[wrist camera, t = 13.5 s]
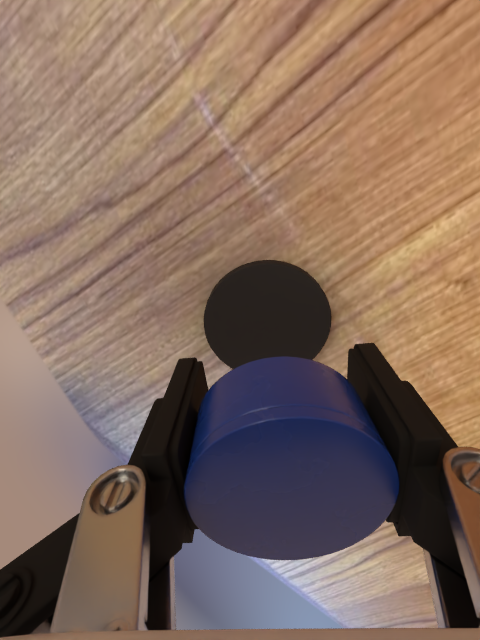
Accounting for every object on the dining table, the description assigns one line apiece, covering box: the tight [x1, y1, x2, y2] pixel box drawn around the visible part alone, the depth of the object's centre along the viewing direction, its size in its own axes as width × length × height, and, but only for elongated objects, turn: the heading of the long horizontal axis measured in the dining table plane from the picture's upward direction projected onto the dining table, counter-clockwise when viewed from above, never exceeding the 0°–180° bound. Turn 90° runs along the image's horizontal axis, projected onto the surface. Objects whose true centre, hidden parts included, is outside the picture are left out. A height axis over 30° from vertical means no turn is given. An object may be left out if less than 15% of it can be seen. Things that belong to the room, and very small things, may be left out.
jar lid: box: [184, 356, 399, 560], centre depth 8 cm, size 5×5×2 cm
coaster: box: [204, 260, 331, 369], centre depth 15 cm, size 6×6×1 cm
